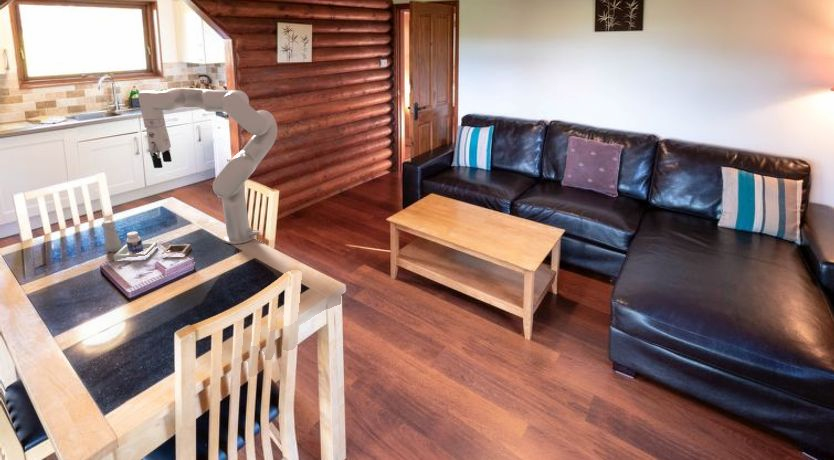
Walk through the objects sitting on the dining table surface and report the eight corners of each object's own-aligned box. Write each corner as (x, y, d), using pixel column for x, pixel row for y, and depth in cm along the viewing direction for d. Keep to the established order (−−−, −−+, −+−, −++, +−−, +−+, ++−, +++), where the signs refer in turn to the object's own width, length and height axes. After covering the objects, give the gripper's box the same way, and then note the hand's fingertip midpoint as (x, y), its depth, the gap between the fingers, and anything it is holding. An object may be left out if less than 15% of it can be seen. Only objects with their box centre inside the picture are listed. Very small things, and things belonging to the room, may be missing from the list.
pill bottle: (134, 256, 197) (129, 236, 194) (126, 254, 199) (121, 234, 196) (146, 252, 201) (142, 232, 198) (139, 249, 204) (134, 229, 200)
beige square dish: (191, 248, 206) (190, 244, 205) (184, 257, 198) (183, 252, 197) (170, 249, 205) (169, 244, 205) (162, 257, 197) (161, 253, 197)
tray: (158, 247, 206) (156, 242, 205) (146, 260, 195) (144, 254, 194) (128, 249, 205) (127, 243, 204) (114, 261, 194) (113, 255, 193)
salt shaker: (117, 246, 208) (110, 218, 203) (125, 249, 205) (118, 220, 200) (104, 251, 203) (96, 222, 198) (112, 254, 200) (104, 225, 195)
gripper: (155, 126, 186) (164, 170, 193) (172, 118, 202) (180, 159, 209) (135, 126, 185) (144, 170, 192) (153, 119, 201) (161, 159, 208)
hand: (163, 164), depth 200 cm, fingers open, 9 cm apart
